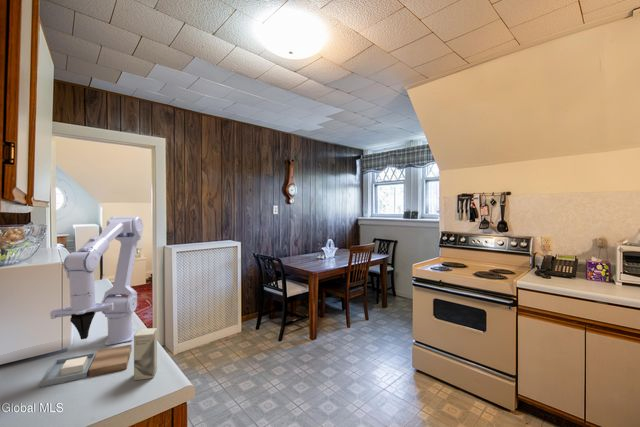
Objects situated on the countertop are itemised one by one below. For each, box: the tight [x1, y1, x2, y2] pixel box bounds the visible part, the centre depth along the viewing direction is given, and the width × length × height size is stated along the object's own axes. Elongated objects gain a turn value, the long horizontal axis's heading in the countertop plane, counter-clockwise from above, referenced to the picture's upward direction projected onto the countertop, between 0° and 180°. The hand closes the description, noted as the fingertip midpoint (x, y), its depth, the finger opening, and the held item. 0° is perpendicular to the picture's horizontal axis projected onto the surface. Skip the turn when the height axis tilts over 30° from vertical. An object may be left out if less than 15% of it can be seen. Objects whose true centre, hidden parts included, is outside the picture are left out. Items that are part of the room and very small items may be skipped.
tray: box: [39, 352, 97, 388], centre depth 87 cm, size 12×10×2 cm
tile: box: [61, 356, 88, 376], centre depth 88 cm, size 5×5×2 cm
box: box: [133, 327, 158, 381], centre depth 85 cm, size 5×4×13 cm
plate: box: [88, 344, 132, 378], centre depth 92 cm, size 12×9×2 cm
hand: (84, 337), depth 89 cm, fingers closed
